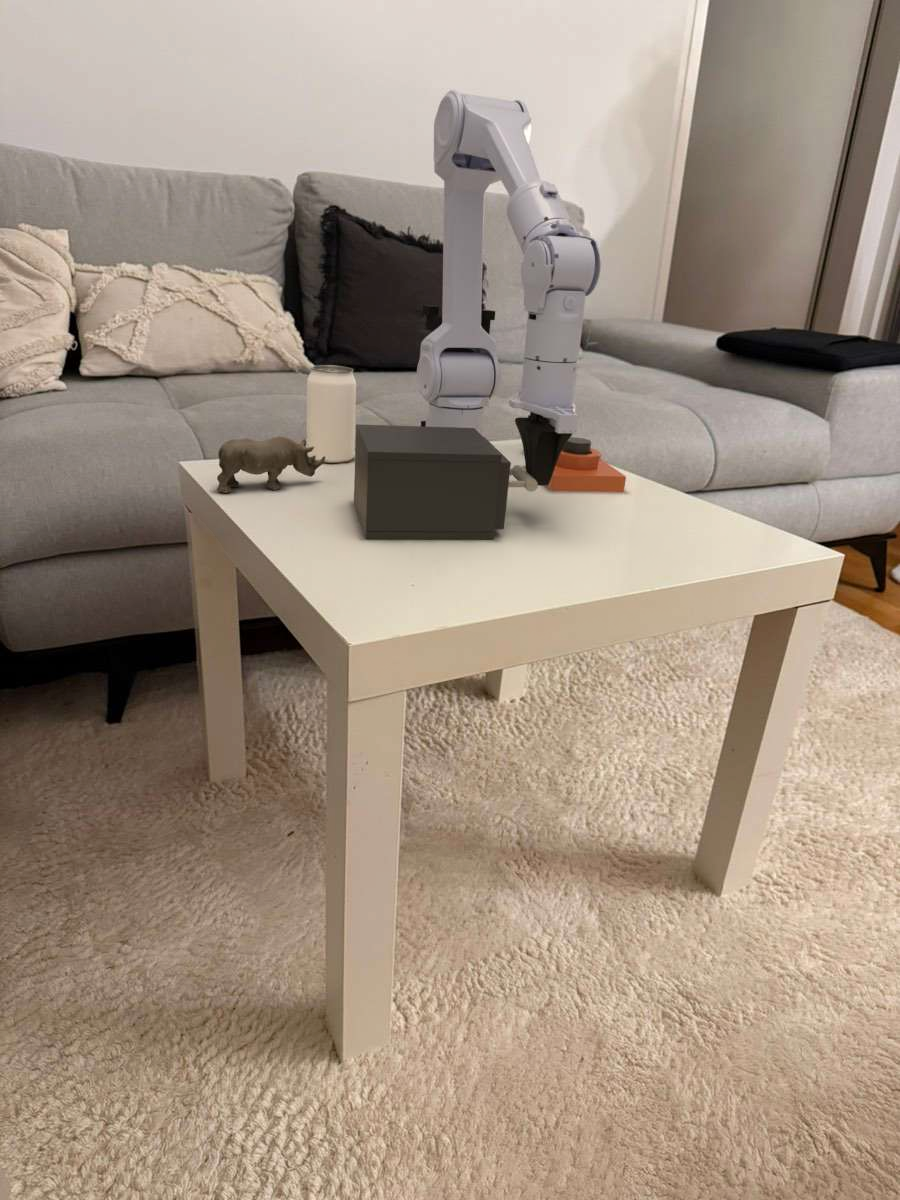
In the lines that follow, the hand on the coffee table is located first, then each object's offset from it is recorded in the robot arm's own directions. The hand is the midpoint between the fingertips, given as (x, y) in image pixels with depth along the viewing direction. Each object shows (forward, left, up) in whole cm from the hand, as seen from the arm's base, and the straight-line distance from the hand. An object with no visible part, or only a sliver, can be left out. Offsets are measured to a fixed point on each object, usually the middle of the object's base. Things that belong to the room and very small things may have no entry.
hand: (538, 483), depth 95 cm
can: (-27, -21, -5) cm, 35 cm away
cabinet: (0, -13, -4) cm, 14 cm away
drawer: (0, -9, -4) cm, 10 cm away
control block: (-18, +11, -4) cm, 21 cm away
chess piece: (-32, -3, -5) cm, 33 cm away
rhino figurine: (-13, -29, -5) cm, 32 cm away
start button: (-18, +11, -1) cm, 21 cm away
